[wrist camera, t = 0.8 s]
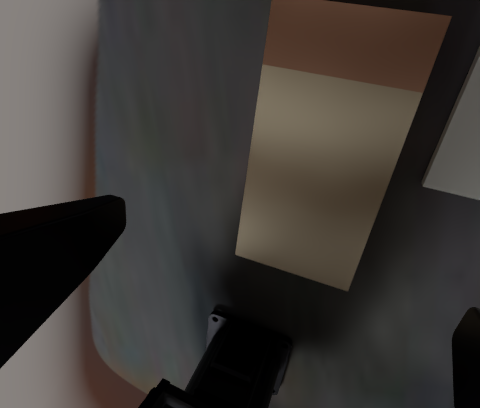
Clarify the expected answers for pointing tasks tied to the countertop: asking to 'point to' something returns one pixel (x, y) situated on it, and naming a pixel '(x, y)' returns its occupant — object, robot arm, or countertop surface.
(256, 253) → the beige and brown block
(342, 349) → the countertop surface
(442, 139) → the grey mat
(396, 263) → the countertop surface
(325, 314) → the countertop surface
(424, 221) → the countertop surface
